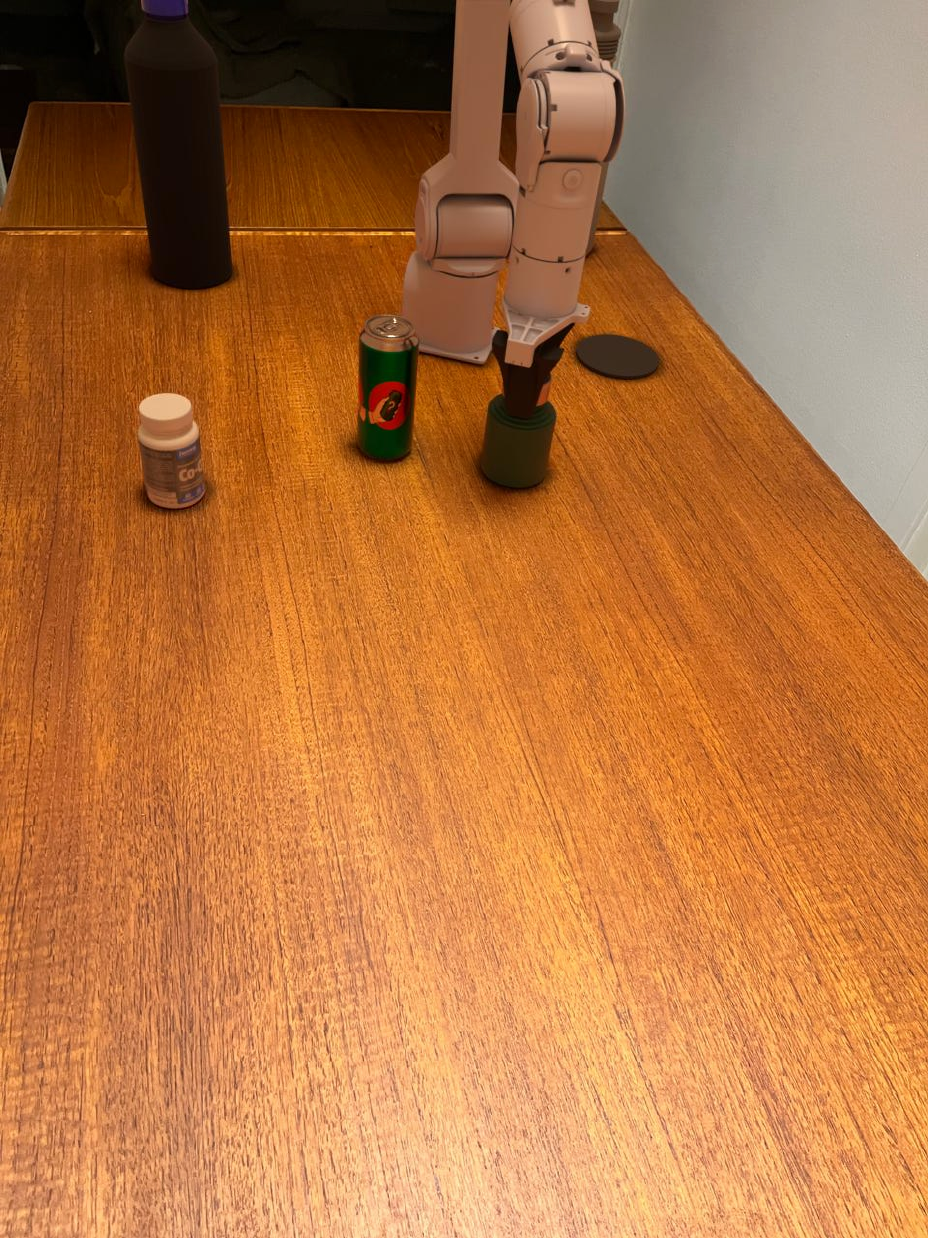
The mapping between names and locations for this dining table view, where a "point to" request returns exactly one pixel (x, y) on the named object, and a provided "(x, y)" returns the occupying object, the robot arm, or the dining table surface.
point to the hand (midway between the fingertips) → (524, 402)
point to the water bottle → (607, 35)
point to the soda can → (387, 386)
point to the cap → (544, 392)
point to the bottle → (179, 147)
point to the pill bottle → (170, 451)
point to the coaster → (617, 356)
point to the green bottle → (517, 444)
